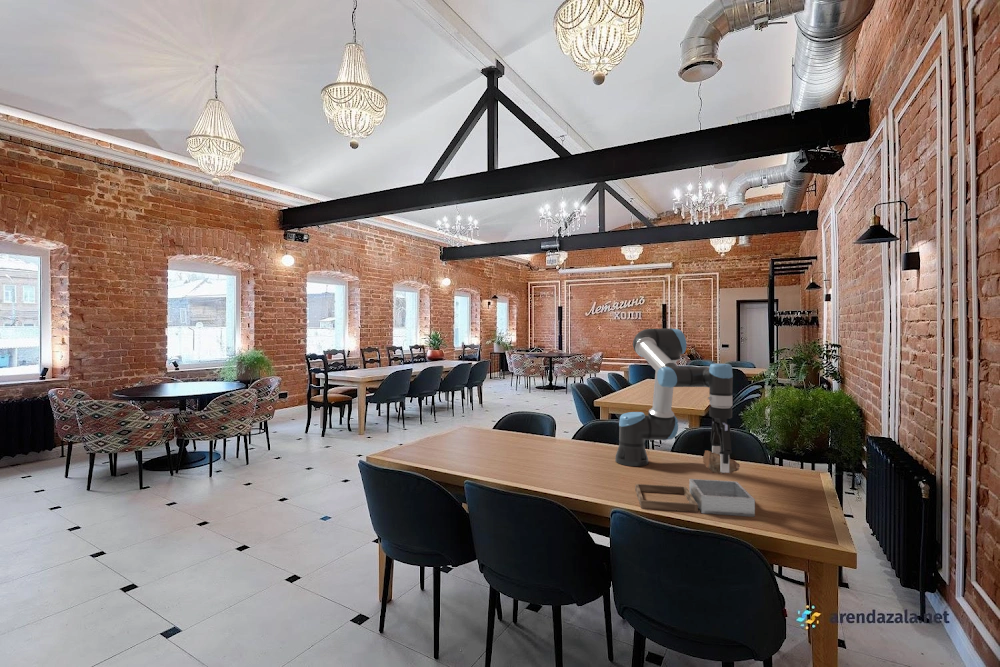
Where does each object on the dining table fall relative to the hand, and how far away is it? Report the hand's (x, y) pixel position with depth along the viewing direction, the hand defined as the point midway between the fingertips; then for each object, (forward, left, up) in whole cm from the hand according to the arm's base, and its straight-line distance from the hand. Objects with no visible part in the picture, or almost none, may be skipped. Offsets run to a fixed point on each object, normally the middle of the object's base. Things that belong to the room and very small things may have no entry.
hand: (720, 467), depth 169 cm
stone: (0, +1, -1) cm, 1 cm away
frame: (-1, -19, -14) cm, 23 cm away
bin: (0, 0, -14) cm, 14 cm away
